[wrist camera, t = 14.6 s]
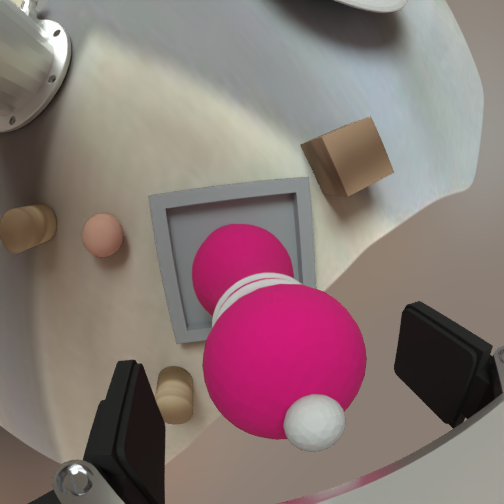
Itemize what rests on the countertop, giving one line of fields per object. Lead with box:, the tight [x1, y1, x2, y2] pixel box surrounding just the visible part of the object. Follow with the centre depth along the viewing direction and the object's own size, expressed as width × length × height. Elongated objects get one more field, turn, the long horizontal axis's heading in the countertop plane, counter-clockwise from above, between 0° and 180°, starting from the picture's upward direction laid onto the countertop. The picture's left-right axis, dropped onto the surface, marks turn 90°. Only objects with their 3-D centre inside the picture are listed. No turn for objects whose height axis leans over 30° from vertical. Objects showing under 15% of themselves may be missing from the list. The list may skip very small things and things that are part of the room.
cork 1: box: [0, 204, 57, 253], centre depth 20 cm, size 4×4×5 cm
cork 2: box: [155, 366, 193, 424], centre depth 26 cm, size 4×4×5 cm
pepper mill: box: [192, 224, 367, 452], centre depth 16 cm, size 7×7×20 cm
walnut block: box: [301, 117, 394, 197], centre depth 24 cm, size 5×5×5 cm
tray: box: [149, 177, 316, 344], centre depth 26 cm, size 13×13×2 cm
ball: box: [82, 213, 123, 257], centre depth 22 cm, size 4×4×4 cm
